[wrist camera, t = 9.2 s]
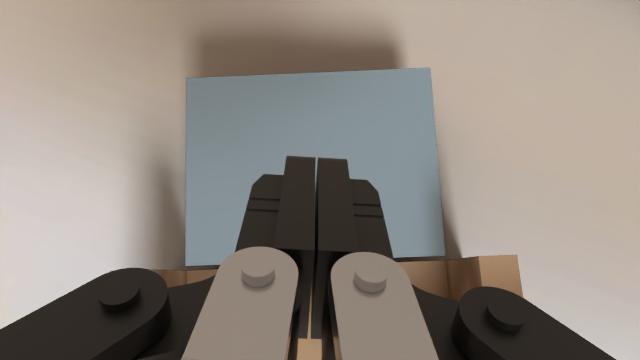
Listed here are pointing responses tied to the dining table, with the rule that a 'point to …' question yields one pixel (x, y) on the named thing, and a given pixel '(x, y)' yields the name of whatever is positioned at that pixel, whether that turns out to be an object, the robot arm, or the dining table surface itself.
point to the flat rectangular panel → (312, 149)
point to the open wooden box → (426, 275)
